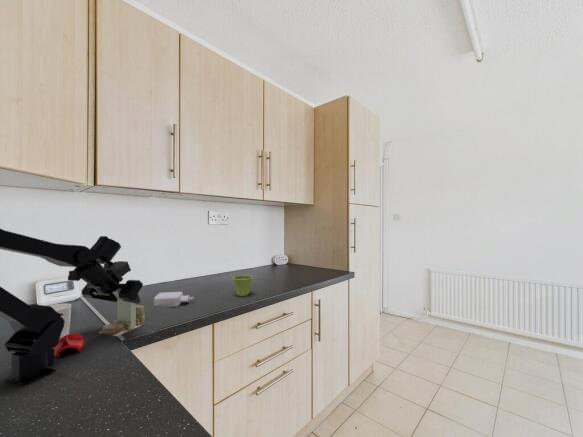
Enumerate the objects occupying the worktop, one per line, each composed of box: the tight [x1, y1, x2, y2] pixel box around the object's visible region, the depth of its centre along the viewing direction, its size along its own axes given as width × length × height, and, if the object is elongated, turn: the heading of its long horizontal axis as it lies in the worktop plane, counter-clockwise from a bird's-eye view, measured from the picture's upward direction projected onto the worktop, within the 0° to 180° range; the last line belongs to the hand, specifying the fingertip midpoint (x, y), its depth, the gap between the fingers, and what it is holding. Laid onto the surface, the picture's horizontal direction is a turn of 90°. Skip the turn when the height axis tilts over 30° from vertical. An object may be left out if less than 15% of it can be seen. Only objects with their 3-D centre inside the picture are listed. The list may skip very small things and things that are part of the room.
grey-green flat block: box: [117, 282, 137, 328], centre depth 88 cm, size 2×6×14 cm, turn 72°
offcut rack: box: [98, 304, 146, 337], centre depth 87 cm, size 10×8×7 cm
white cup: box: [48, 303, 72, 339], centre depth 81 cm, size 8×8×10 cm
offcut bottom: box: [101, 326, 125, 336], centre depth 84 cm, size 4×5×1 cm
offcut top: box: [102, 321, 123, 331], centre depth 84 cm, size 3×4×1 cm
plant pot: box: [232, 274, 253, 297], centre depth 130 cm, size 9×9×9 cm
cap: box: [53, 333, 86, 358], centre depth 71 cm, size 8×6×6 cm
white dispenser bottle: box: [153, 291, 195, 308], centre depth 115 cm, size 5×9×15 cm
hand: (127, 301), depth 89 cm, fingers open, 9 cm apart
